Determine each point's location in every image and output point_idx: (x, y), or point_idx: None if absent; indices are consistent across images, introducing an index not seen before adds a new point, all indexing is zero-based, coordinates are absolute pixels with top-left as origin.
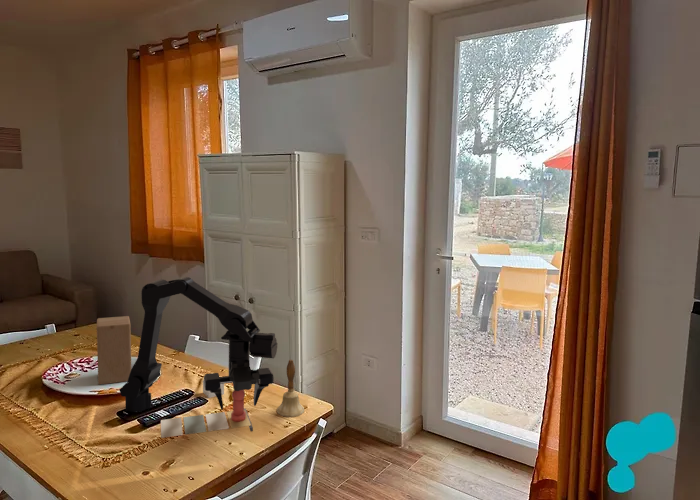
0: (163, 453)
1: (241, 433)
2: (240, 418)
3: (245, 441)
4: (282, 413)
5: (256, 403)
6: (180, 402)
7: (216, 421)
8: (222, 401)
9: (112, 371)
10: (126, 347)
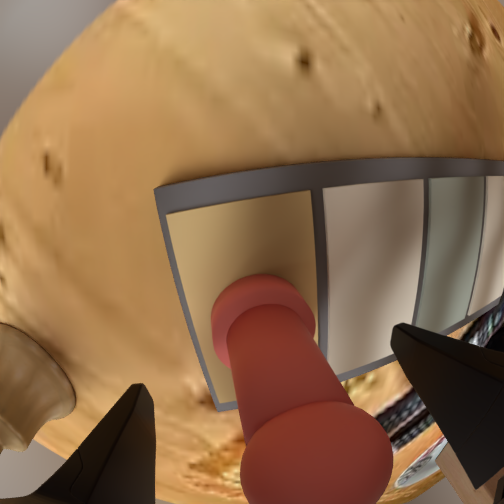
0: (497, 100)
1: (234, 161)
2: (249, 286)
3: (210, 60)
4: (31, 351)
5: (122, 397)
6: (420, 410)
7: (381, 285)
8: (448, 355)
9: None
10: None
